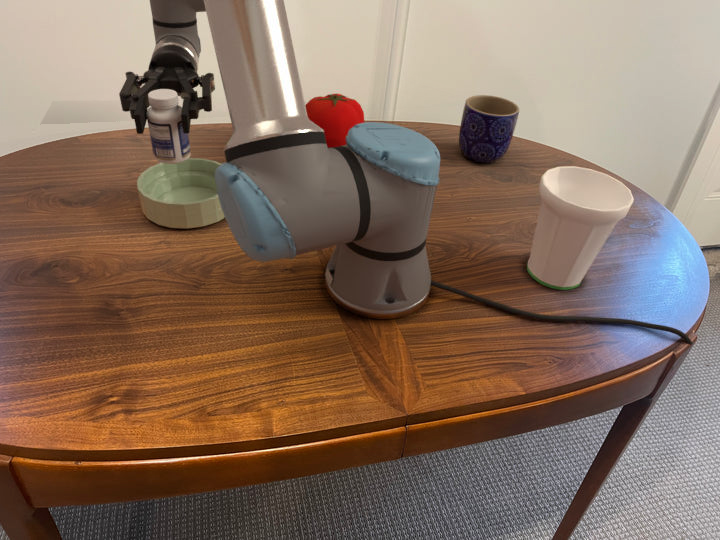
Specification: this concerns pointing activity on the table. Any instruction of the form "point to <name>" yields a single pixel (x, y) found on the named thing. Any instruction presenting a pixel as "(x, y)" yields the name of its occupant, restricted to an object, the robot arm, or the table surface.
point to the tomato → (335, 116)
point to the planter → (487, 127)
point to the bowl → (181, 193)
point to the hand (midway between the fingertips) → (161, 124)
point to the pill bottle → (167, 127)
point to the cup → (574, 223)
